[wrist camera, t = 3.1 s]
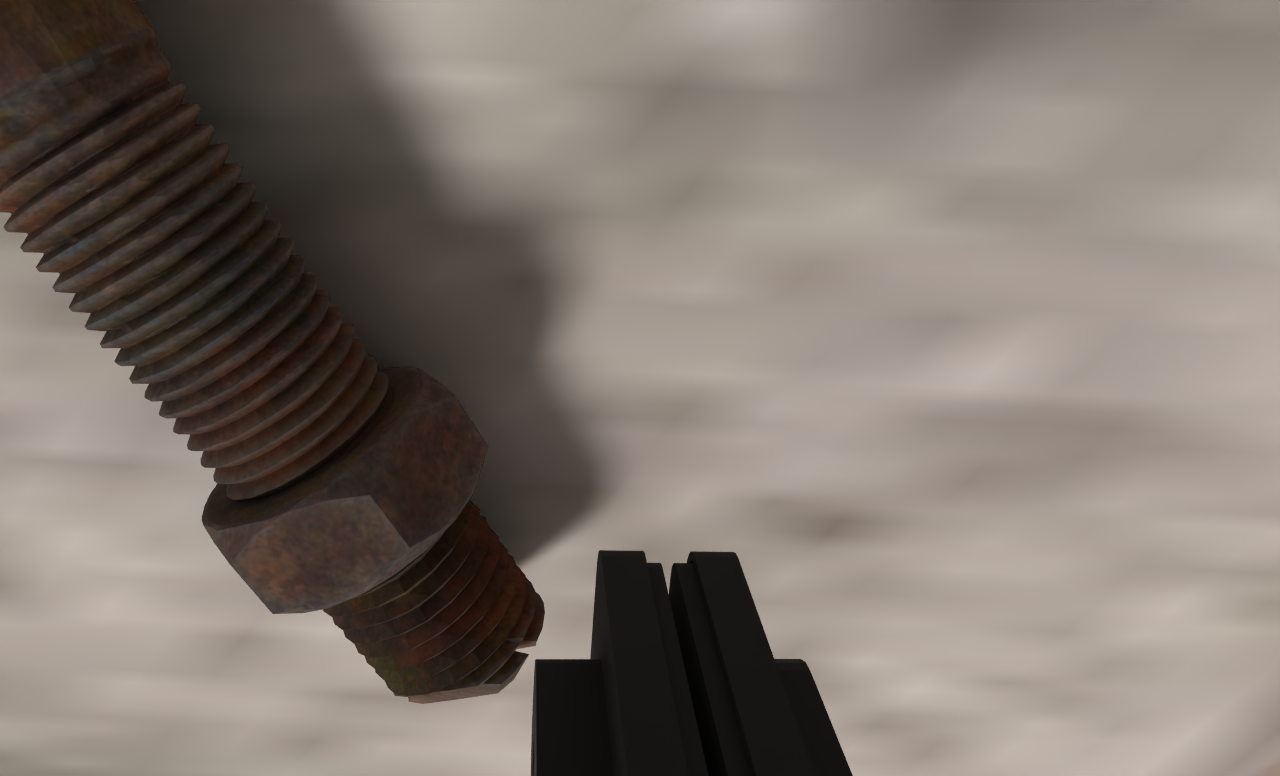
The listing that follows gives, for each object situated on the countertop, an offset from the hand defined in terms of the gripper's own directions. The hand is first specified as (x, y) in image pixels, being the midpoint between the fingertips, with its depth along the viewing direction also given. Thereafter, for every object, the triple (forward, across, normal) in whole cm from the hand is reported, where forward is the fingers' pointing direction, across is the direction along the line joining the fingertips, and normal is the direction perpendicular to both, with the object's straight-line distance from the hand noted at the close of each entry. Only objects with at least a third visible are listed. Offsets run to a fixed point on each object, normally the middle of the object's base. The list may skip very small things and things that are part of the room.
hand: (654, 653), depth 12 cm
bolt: (+8, +6, -2) cm, 10 cm away
